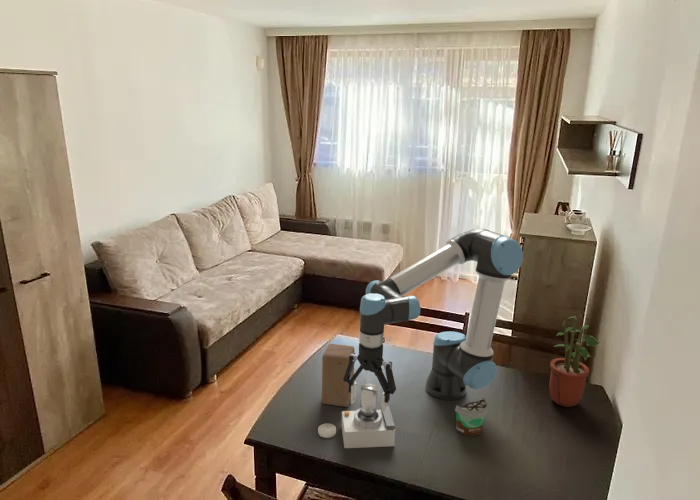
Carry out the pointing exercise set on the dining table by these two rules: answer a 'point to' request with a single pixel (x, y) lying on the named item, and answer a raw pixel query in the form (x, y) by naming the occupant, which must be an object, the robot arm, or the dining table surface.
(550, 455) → the dining table surface
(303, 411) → the dining table surface
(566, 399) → the potted plant
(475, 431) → the food container
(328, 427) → the rear cap
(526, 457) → the dining table surface
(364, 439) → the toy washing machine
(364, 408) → the grey tall rounded cylinder
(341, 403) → the wooden block
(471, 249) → the robot arm
